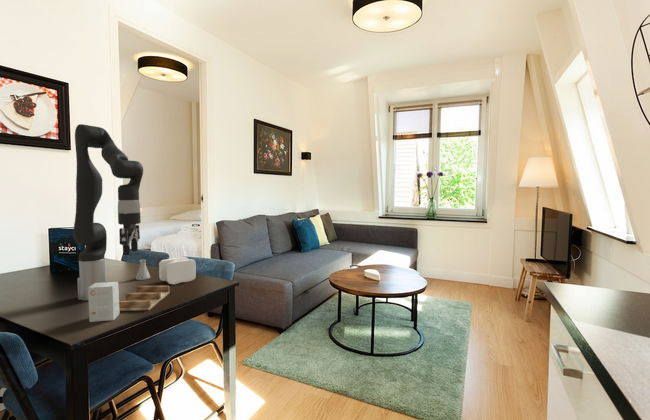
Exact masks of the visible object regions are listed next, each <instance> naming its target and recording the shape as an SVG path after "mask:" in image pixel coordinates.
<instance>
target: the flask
mask: <svg viewBox="0 0 650 420" xmlns="http://www.w3.org/2000/svg"><path fill="white" fill-rule="evenodd" d="M146 262H147V260H146V259H140V260H139V268H138V271H137V274H136V277H135V280H136V281H142V280H149V279H151V275H150V272H149V270H148V268H147V264H146Z"/></svg>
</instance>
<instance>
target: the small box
mask: <svg viewBox="0 0 650 420" xmlns="http://www.w3.org/2000/svg"><path fill="white" fill-rule="evenodd" d="M119 292H120V291H119V281H110V282H109V281H107V282H106V281H105V283H95V284H93V285H91V286H90V287H88V318H89V323H96V322H103V321H104V322H105V321H108V322H109V321H114V320H115V319H116V318H117V317H118V316H119V315H120V314H121V313H120V312H121V311H119V301H120V293H119Z"/></svg>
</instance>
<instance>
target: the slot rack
mask: <svg viewBox="0 0 650 420" xmlns="http://www.w3.org/2000/svg"><path fill="white" fill-rule="evenodd" d="M170 290H171V289H170V285H137V286H136V292H126V293H125V299H124V300H119V311H120V312H121V311H123V312H124V311H150V310H152V308H154V307H155V306H156V305H157V304H158V303H159V302H161V301H162V300H163V299H164V298H166V297H167V296H168V295H169V294H170V293H171V292H170Z"/></svg>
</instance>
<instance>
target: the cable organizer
mask: <svg viewBox="0 0 650 420" xmlns="http://www.w3.org/2000/svg"><path fill="white" fill-rule="evenodd" d="M196 265H197V264H196V260H194V259H192V258H190V259H189V258H188V257H186V256H182V257H175V258H168V259H167V258H166V259H162V260H160V261H159V263H158V270H159V271H158V273H159V274H158V275H159V276H158V277H159V280H160V281H162V282H166V283H168V284H170V285H178V284H181V283H189V282H192V281H194V280H195V279H196V277H197V276H196V271H197V270H196V269H197V267H196Z"/></svg>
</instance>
